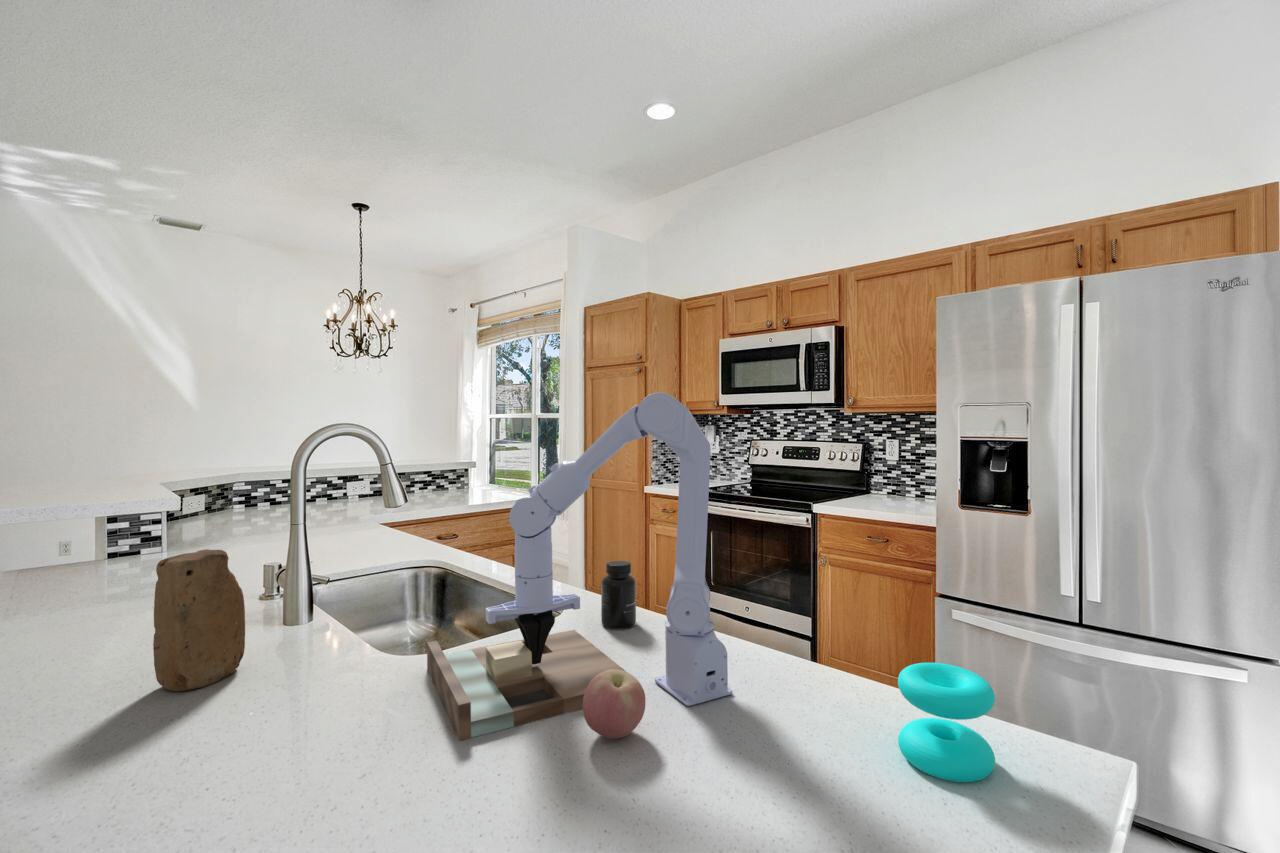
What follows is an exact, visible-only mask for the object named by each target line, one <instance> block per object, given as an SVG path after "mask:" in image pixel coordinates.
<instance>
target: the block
mask: <svg viewBox="0 0 1280 853" xmlns="http://www.w3.org/2000/svg"><path fill="white" fill-rule="evenodd" d="M155 570H156V571H155V572H156V575H157V581H156V583H155V588H154V602H153V605H154V606H153V627H154V635H153V644H152V645H153V647H152V649H153V664H154V665H153V667H154V671H155V679H156V681H157V682H158V684H159V686H161V687H163V688H164V689H166V690H168V691H171V692H181V691H182V692H183V691H190V690H195V689H196V690H197V689H200V688H204V687H207V686H209V685H211V684H214V683H216V682H218V681H220V680H221V679H222V678H226V677H228V676H229V675H231V674H233V673H234V672H236V670H237V668H238V667H239V666H240V663H241V661H242V660H243V657H244V654H245V649H246V648H245V647H246V610H245V609H246V606H245V599H244V598H245V597H244V596H245V595H244V593H243V589H242V588H241V587H240V584H239V582H238V581H237V577H235V574H234V573H233V572H232V571H230V569H229V555H228V553H227V551H225V550H223V549H202V550H201V549H200V550H197V551H195V552H186V553H181V554H178V555H173V556H169V557H166V558H163V559H161V560H160V561H159V562H158V563H157V565H156V568H155Z"/></svg>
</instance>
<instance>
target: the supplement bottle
mask: <svg viewBox="0 0 1280 853" xmlns="http://www.w3.org/2000/svg"><path fill="white" fill-rule="evenodd" d="M631 565H632V564H631V562H629V561H626V560H612V561H608V562H606V566H605V567H606V570H605V573H606V574H607V575H605V576H604V577H603V578H602V580H601V584H600V585H601V589H600V590H601V592H600V593H601V594H600V595H601V599H600V600H601V606H600V607H601V609H600V610H601V613H600V617H601V625H602V626H603V627H606V628H608V629H611V630H613V629H614V630H623V629H625V630H626V629H630V628H632V627H634V626H635V624H636V620H637V582H636V579H635V577H634V576H632V575H631V573H632V566H631Z"/></svg>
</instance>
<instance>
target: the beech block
mask: <svg viewBox="0 0 1280 853" xmlns="http://www.w3.org/2000/svg"><path fill="white" fill-rule="evenodd" d="M515 641H516V642H512V641H509V642H510V643H507V642H504V643H505V644H502V643H499V644H500V645H496V644H493V645H494V646H491V645H488V646H489V647H486V646H485V647H486V671H487V672H488V674H489V675H490V677H491V678H492V680H493V681H494V683H495V684H496V683H501V682H505V681H510V680H515V679H519V678H524V677H528V676H532V652H531V651H530V650H529V649H528V648H527V647H526V646H525V645H524V643H523V642H522V641H518V640H515Z"/></svg>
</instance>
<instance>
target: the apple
mask: <svg viewBox="0 0 1280 853" xmlns="http://www.w3.org/2000/svg"><path fill="white" fill-rule="evenodd" d="M645 710H646V693H645V690H644V688H643V686H642V684H641V683H640V681H639V680H638V679H637V678H636V677H635V676H634V675H632V674H631V673H629V672H628V671H626V670H625V671H623V670H618V669H610V670H606V671H604V672H602V673H600V674H598V675H597V676H596V677H594V678H593V679H592V681H591V682H590V683H589V685H588V686H587V688H586V691H585V693H584V697H583V709H582V713H583V719H584V720H585V723H586V724H587V726H588V727H589V728H590V730H592V731H593V732H595V733H597V734H598V735H599V736H600V737H604V738H608V739H611V740H612V739H613V740H614V739H616V740H617V739H623V738H625V737H627V736H629V735H630V734H631V733H632V732H633V731H634V730H635V729H636V728H637V727H638V725H639V724H640V723H641V722H642V719H643V717H644V715H645Z"/></svg>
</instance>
